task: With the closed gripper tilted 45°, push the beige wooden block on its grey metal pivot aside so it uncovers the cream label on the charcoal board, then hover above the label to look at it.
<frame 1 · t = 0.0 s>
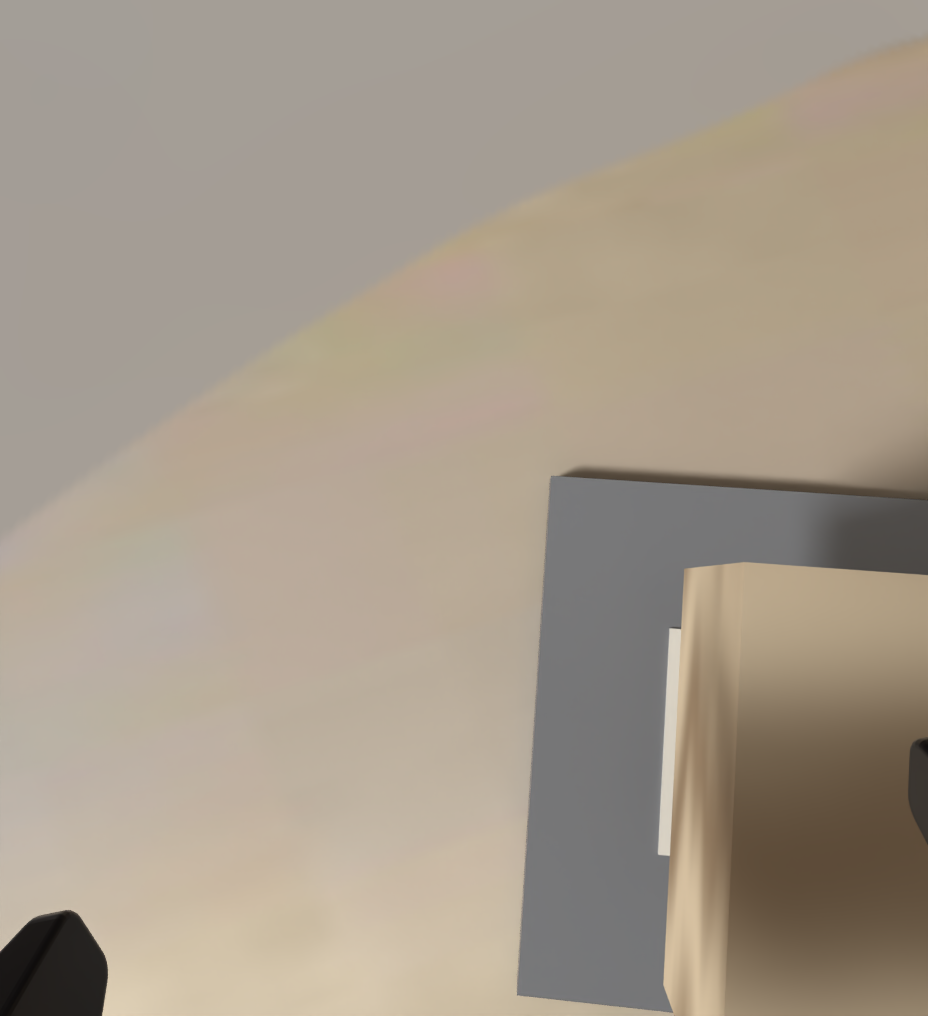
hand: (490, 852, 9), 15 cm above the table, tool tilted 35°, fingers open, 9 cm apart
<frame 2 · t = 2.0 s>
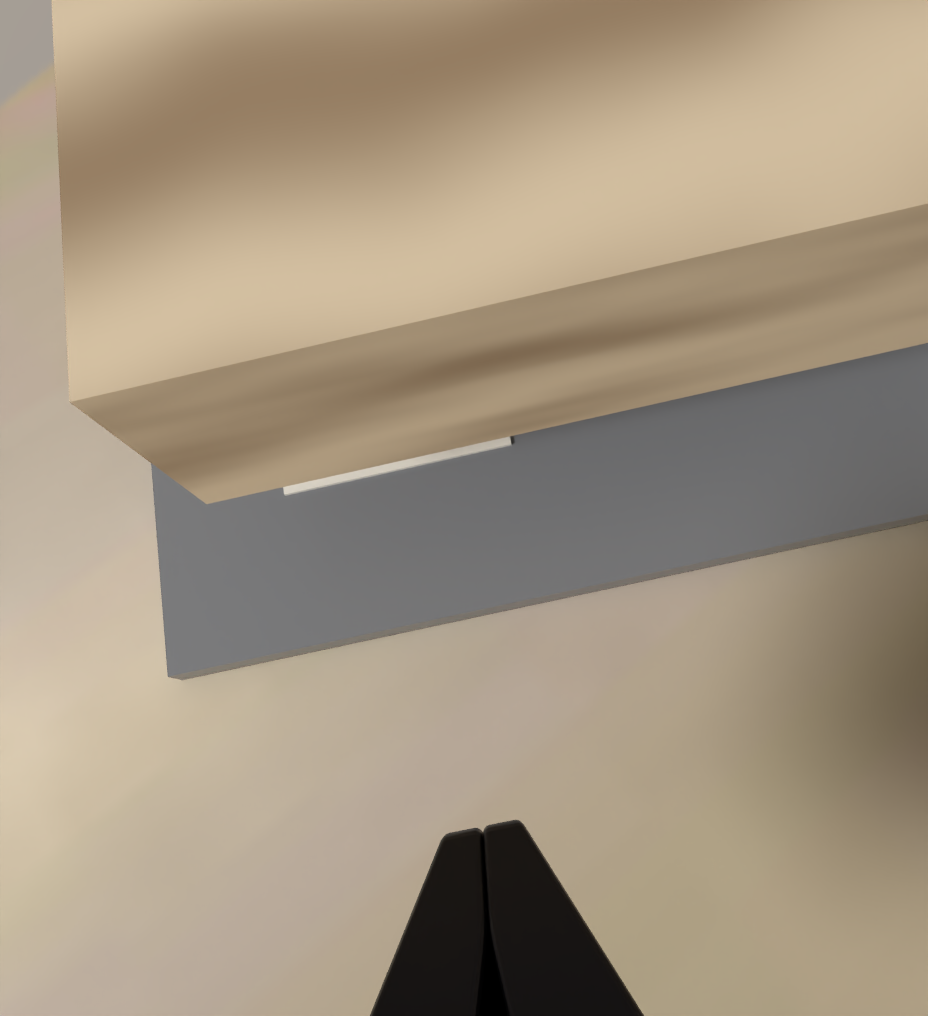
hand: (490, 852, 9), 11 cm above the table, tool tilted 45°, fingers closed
beige wooden block: (645, 180, 17), point 6 cm above the table, hinge at 0.0°
label board: (614, 329, 23), on the table
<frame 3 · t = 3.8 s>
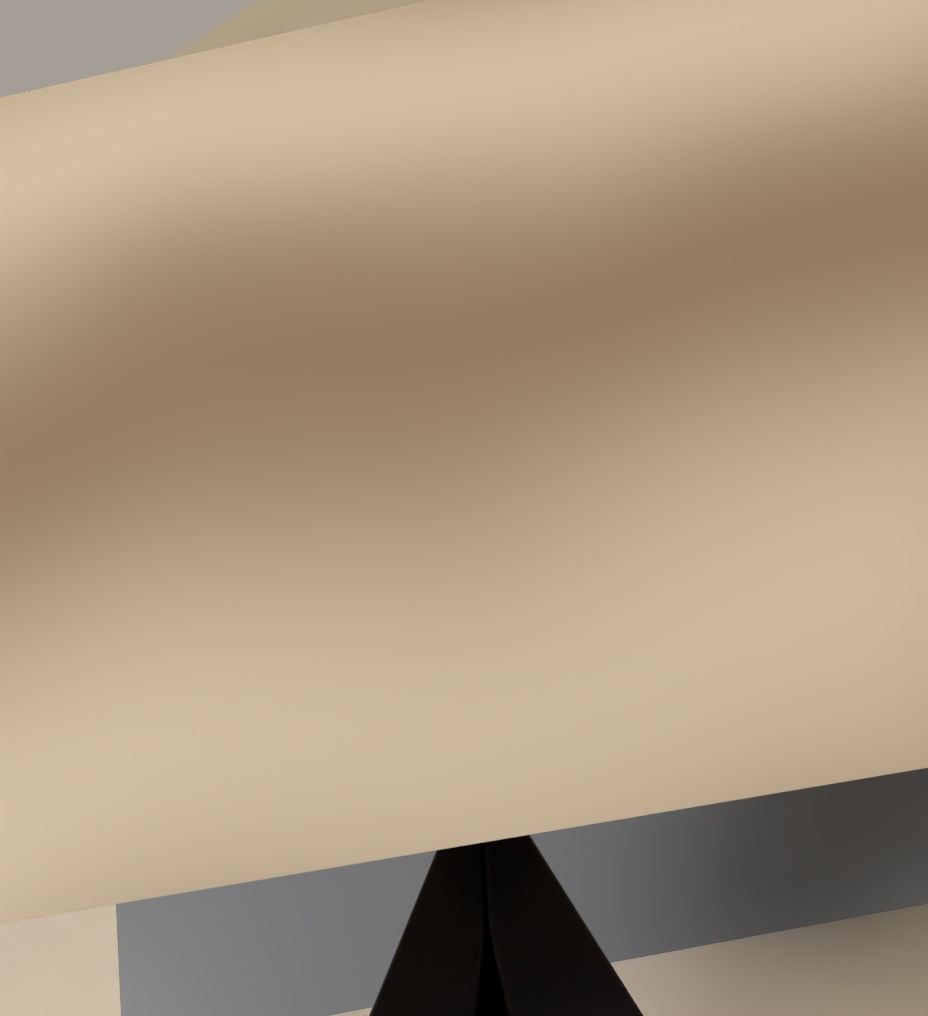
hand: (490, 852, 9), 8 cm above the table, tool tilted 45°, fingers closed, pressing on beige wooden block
beige wooden block: (807, 422, 12), point 6 cm above the table, hinge at 1.4°, touching gripper
label board: (718, 548, 17), on the table
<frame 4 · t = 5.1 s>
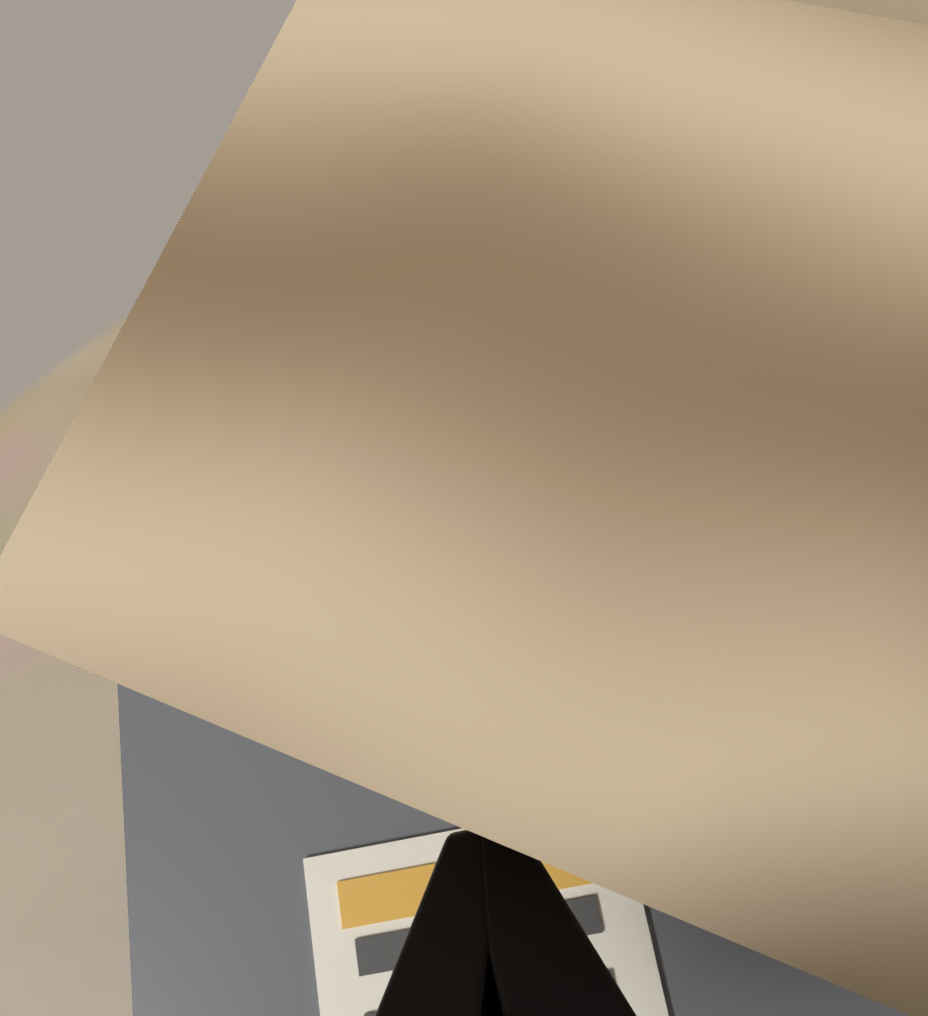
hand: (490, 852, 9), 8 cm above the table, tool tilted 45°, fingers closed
label board: (847, 934, 15), on the table
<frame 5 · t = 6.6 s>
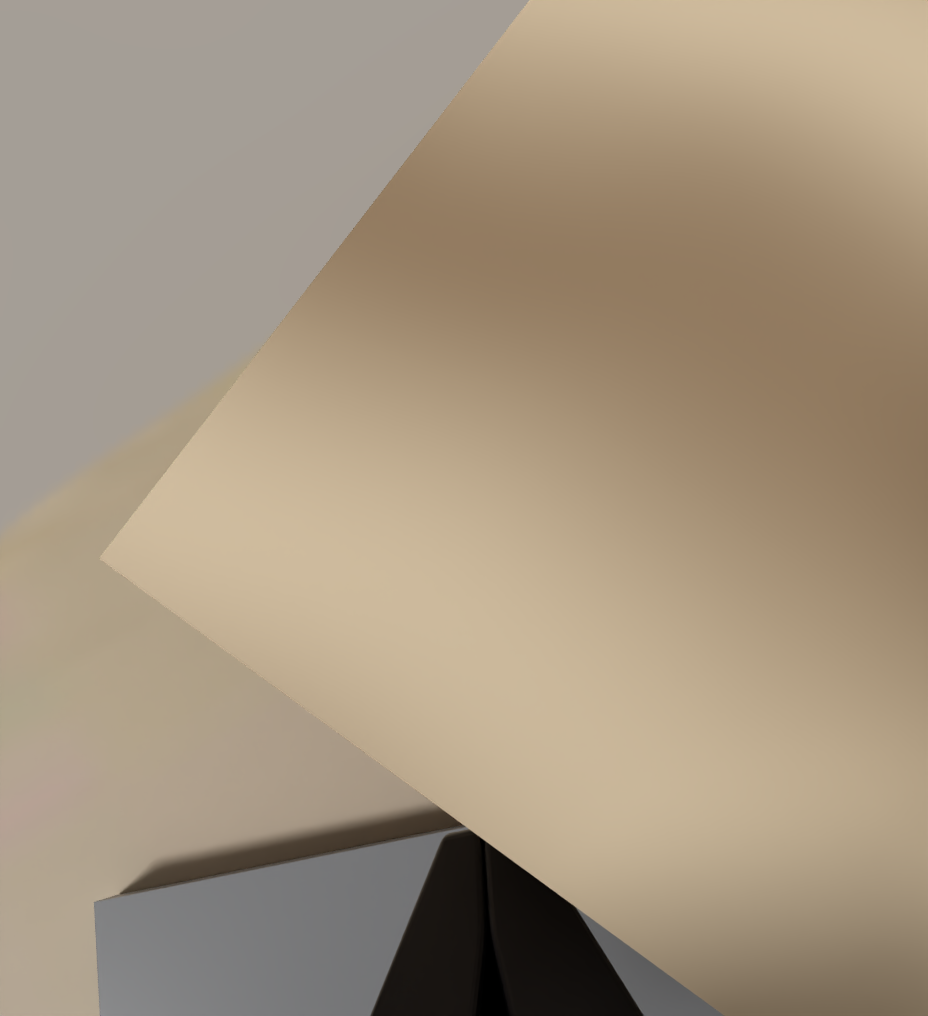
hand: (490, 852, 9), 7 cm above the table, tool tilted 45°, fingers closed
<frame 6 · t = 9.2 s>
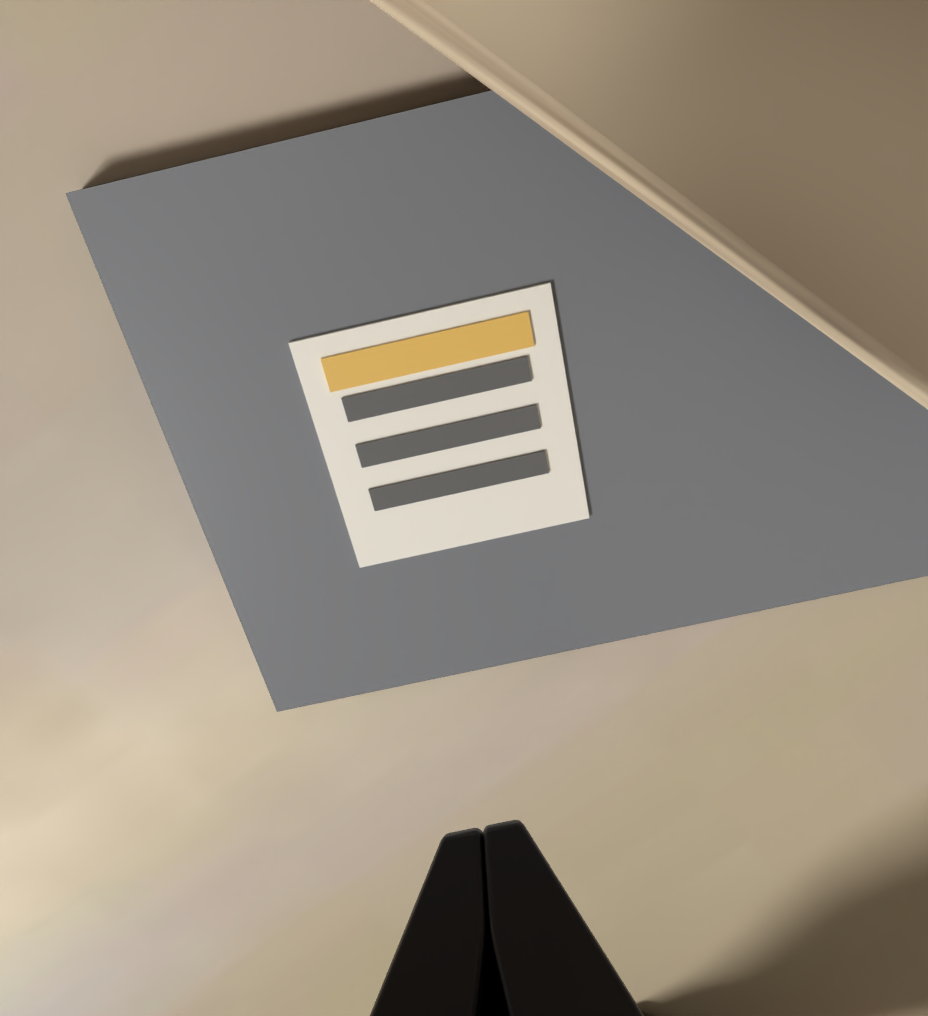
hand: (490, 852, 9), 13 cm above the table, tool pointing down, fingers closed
label board: (705, 365, 20), on the table
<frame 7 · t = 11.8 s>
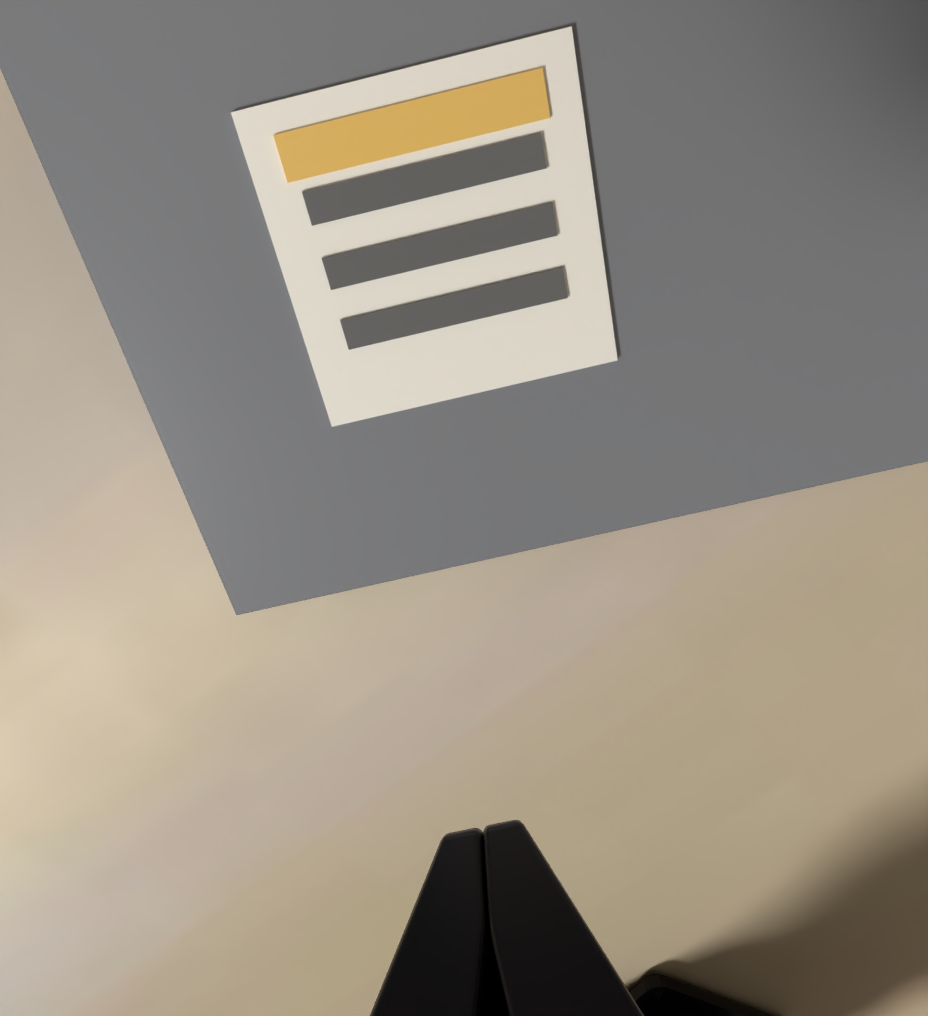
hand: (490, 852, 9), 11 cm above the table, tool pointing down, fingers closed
label board: (764, 159, 16), on the table
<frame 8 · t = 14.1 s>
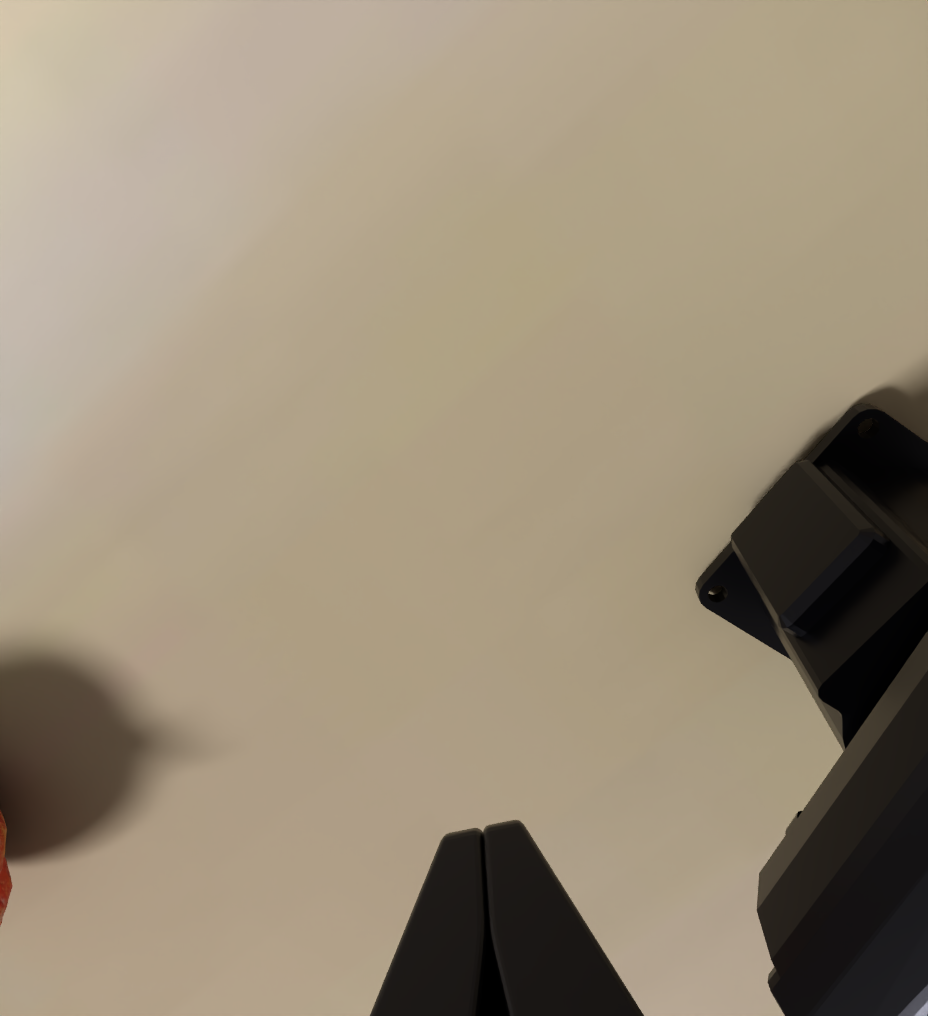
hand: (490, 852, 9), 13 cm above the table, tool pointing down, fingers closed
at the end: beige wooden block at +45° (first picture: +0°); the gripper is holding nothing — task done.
